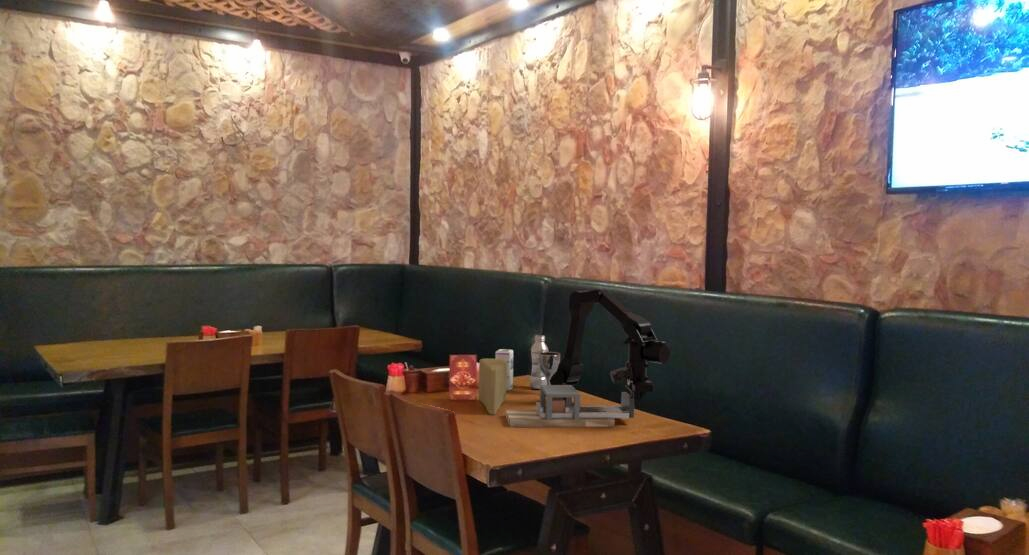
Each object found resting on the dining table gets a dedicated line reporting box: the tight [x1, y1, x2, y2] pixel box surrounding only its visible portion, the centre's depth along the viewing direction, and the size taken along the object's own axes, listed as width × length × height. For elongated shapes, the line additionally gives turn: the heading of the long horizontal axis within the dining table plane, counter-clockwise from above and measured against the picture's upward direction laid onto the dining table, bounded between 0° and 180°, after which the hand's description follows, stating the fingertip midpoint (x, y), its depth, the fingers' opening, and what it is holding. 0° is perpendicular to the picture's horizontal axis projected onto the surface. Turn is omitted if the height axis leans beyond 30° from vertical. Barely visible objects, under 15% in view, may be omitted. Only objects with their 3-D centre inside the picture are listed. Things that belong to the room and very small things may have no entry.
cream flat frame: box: [504, 409, 616, 428], centre depth 247 cm, size 14×32×2 cm, turn 97°
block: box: [545, 396, 565, 412], centre depth 247 cm, size 5×5×5 cm
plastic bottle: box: [529, 334, 549, 390], centre depth 296 cm, size 6×7×20 cm
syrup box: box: [494, 348, 514, 392], centre depth 295 cm, size 6×6×14 cm
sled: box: [534, 391, 635, 419], centre depth 248 cm, size 10×29×6 cm, turn 97°
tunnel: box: [539, 384, 581, 420], centre depth 247 cm, size 14×10×8 cm
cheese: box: [478, 358, 507, 416], centre depth 264 cm, size 22×10×15 cm, turn 1°
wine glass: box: [538, 351, 561, 396], centre depth 287 cm, size 8×8×15 cm
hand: (636, 408), depth 250 cm, fingers closed, pressing on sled
